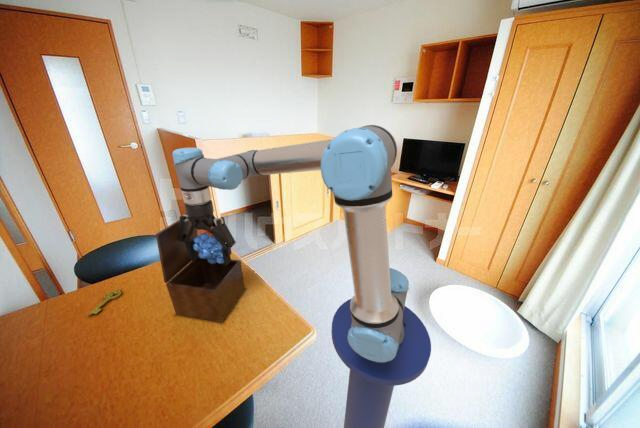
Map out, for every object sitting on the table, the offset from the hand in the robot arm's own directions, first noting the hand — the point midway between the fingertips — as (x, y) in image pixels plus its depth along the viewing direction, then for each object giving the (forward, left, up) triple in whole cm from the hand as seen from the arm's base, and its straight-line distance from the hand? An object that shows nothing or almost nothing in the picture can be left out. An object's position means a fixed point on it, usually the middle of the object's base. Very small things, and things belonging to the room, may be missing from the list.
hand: (211, 260), depth 80 cm
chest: (+3, 0, -19) cm, 19 cm away
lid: (+10, 0, +5) cm, 11 cm away
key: (+41, +8, -19) cm, 46 cm away
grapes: (0, 0, -2) cm, 2 cm away
